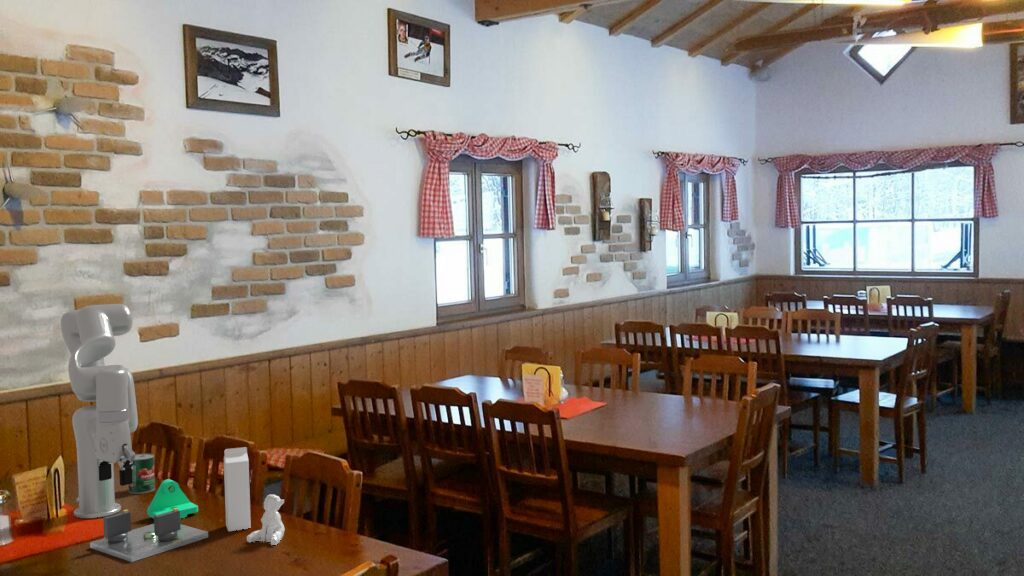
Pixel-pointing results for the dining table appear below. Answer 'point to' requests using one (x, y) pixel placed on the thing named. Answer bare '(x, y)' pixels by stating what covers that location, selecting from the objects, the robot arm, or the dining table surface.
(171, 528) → the knob
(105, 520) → the knob
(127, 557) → the plate
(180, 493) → the camera mount
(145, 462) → the canned tomato
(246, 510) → the milk
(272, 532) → the sitting furry creature
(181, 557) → the dining table surface
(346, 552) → the dining table surface
